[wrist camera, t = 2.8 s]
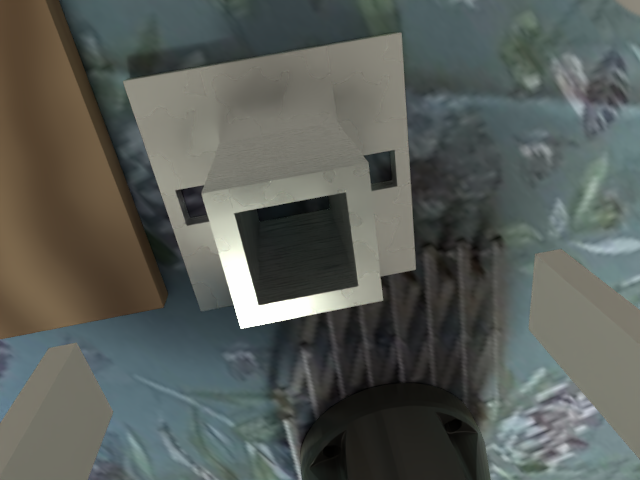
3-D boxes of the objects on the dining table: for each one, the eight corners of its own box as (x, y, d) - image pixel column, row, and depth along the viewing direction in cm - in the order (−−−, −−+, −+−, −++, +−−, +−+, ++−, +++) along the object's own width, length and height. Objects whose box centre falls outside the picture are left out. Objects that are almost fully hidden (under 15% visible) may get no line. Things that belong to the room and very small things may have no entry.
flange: (395, 32, 23) (465, 36, 15) (410, 260, 29) (465, 349, 21) (129, 78, 23) (56, 108, 15) (203, 300, 29) (180, 407, 21)
